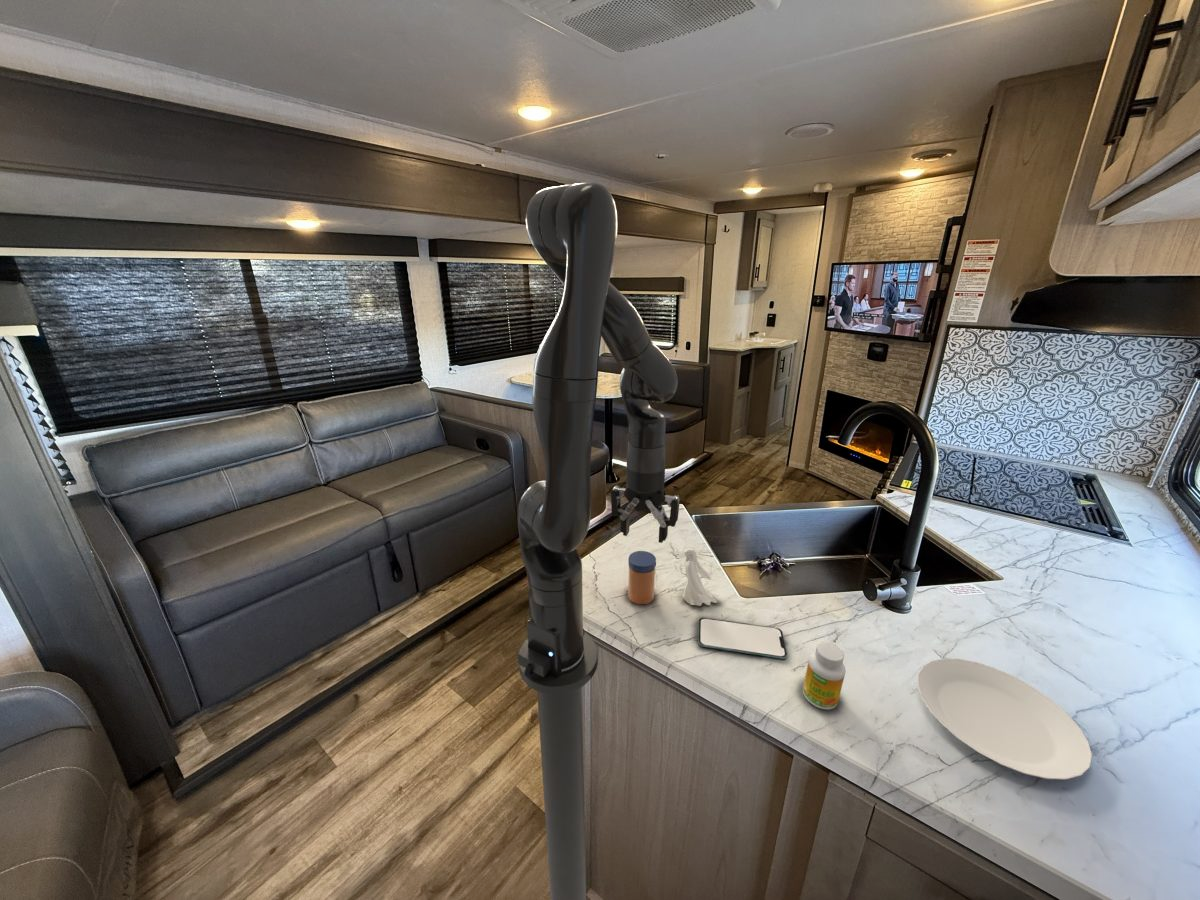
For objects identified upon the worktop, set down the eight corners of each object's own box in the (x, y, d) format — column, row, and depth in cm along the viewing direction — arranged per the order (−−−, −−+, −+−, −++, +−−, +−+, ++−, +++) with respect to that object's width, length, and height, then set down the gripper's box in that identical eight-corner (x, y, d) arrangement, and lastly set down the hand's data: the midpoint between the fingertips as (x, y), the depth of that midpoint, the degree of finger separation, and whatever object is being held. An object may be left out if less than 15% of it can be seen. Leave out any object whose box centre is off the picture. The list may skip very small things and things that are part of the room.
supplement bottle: (801, 703, 75) (811, 657, 72) (803, 678, 80) (812, 634, 76) (837, 715, 73) (849, 668, 70) (837, 690, 78) (848, 645, 74)
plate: (947, 651, 86) (950, 641, 85) (1105, 740, 69) (1111, 729, 68) (889, 703, 75) (892, 692, 74) (1058, 823, 59) (1065, 811, 58)
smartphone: (698, 647, 87) (787, 660, 83) (698, 645, 86) (788, 658, 83) (698, 618, 94) (781, 630, 90) (698, 616, 94) (781, 627, 90)
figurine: (684, 584, 104) (687, 538, 100) (719, 592, 101) (724, 546, 97) (676, 605, 98) (679, 557, 93) (714, 614, 95) (719, 565, 91)
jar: (646, 607, 97) (648, 571, 94) (623, 598, 100) (624, 563, 96) (657, 593, 101) (659, 557, 98) (635, 585, 104) (636, 550, 101)
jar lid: (648, 575, 94) (648, 569, 93) (623, 567, 97) (623, 561, 96) (659, 561, 99) (660, 555, 98) (635, 553, 101) (636, 548, 101)
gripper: (604, 466, 89) (605, 540, 94) (678, 476, 84) (673, 553, 90) (617, 453, 95) (616, 522, 101) (686, 462, 90) (681, 534, 96)
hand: (643, 537), depth 95 cm, fingers open, 7 cm apart
